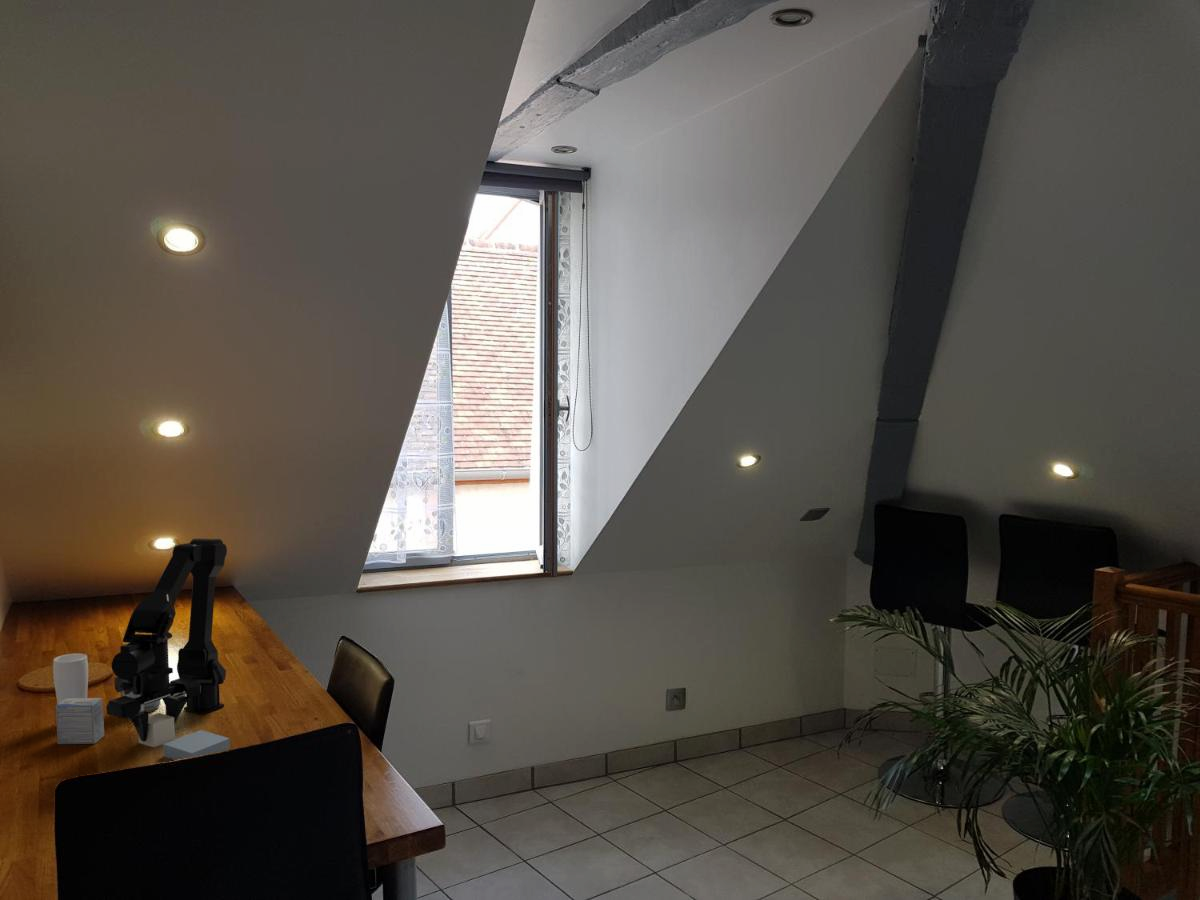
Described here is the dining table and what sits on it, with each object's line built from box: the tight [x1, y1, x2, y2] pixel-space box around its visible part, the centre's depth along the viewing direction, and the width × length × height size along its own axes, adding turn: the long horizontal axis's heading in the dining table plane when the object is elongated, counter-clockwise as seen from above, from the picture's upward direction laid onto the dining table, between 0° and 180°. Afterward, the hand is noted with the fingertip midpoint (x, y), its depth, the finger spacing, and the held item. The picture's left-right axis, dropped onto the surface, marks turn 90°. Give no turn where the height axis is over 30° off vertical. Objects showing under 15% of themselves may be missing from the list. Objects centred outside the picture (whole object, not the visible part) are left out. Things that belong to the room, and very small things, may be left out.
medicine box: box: [55, 697, 105, 745], centre depth 208 cm, size 8×4×9 cm, turn 92°
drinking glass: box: [52, 653, 89, 705], centre depth 218 cm, size 7×7×15 cm
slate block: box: [162, 729, 231, 761], centre depth 202 cm, size 9×9×3 cm
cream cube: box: [138, 712, 176, 748], centre depth 208 cm, size 5×5×5 cm
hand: (156, 736), depth 208 cm, fingers open, 6 cm apart
